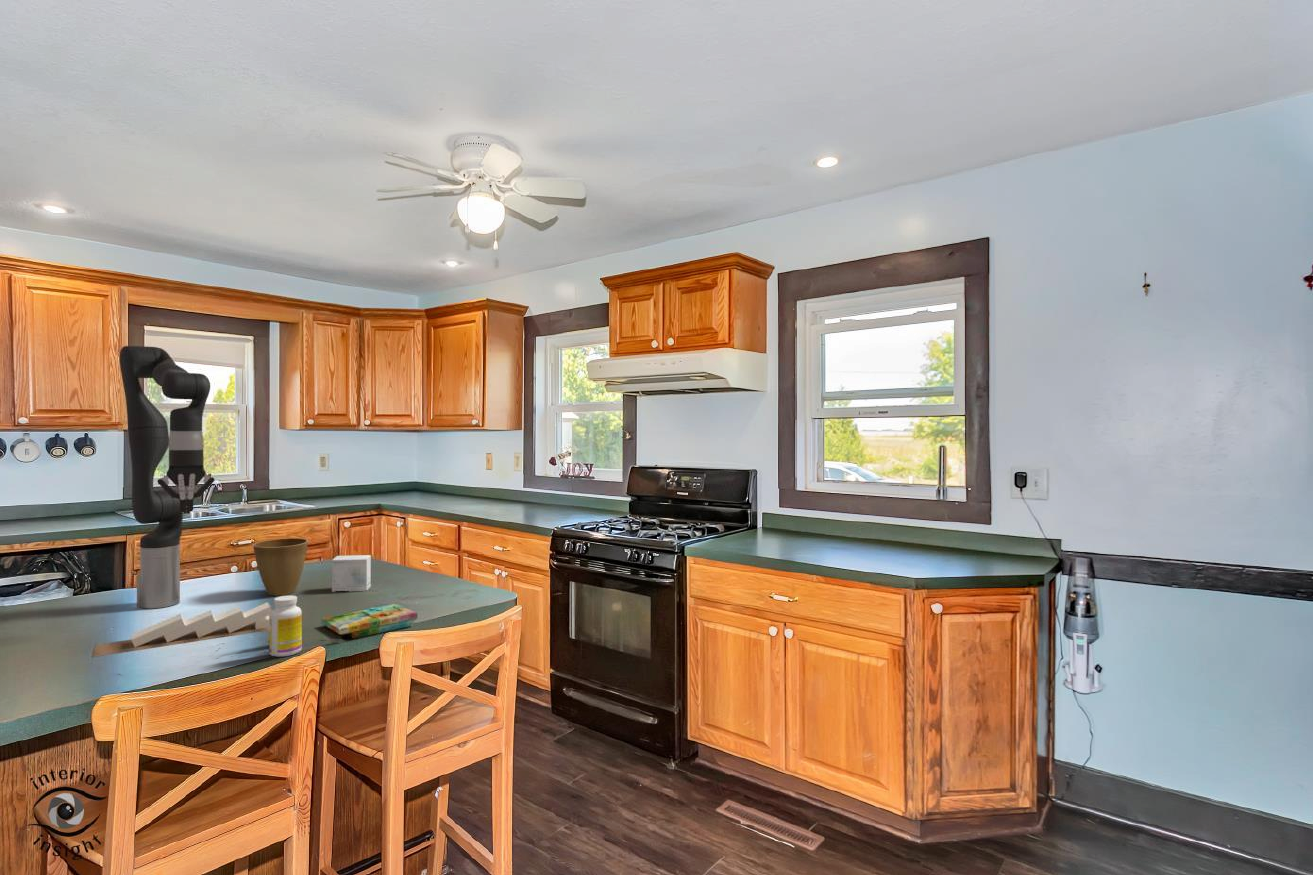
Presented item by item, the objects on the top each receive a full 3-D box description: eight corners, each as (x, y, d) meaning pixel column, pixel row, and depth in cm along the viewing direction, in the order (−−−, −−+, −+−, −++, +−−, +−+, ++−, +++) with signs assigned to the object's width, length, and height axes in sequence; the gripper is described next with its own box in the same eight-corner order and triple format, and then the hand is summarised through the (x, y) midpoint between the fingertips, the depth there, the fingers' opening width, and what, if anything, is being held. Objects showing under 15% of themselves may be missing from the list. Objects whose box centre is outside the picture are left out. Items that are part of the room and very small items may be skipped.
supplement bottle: (308, 650, 157) (308, 595, 157) (284, 659, 151) (284, 602, 150) (286, 646, 159) (286, 593, 159) (262, 655, 153) (262, 600, 153)
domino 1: (131, 639, 152) (181, 618, 158) (131, 634, 156) (181, 613, 162) (134, 647, 153) (185, 625, 158) (135, 641, 157) (184, 620, 162)
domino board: (91, 663, 147) (91, 657, 146) (95, 651, 155) (95, 644, 155) (278, 634, 168) (278, 628, 168) (273, 624, 176) (273, 619, 176)
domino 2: (163, 635, 156) (211, 614, 162) (163, 629, 160) (210, 609, 166) (167, 642, 156) (215, 621, 162) (166, 637, 160) (213, 617, 166)
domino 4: (226, 626, 163) (270, 606, 169) (224, 621, 167) (267, 602, 173) (229, 633, 164) (273, 613, 169) (227, 628, 168) (270, 608, 173)
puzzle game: (417, 609, 176) (338, 625, 162) (417, 627, 176) (338, 644, 162) (397, 601, 184) (321, 615, 170) (397, 618, 184) (321, 633, 170)
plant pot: (267, 587, 214) (267, 538, 214) (315, 587, 216) (315, 537, 216) (243, 599, 200) (243, 546, 199) (295, 599, 201) (295, 546, 201)
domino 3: (195, 630, 160) (241, 610, 165) (194, 625, 164) (239, 606, 169) (198, 637, 160) (244, 617, 166) (197, 632, 164) (242, 613, 170)
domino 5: (255, 621, 167) (300, 614, 173) (253, 616, 171) (297, 610, 177) (255, 629, 167) (300, 622, 173) (253, 624, 171) (297, 617, 177)
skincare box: (331, 592, 210) (331, 559, 209) (336, 587, 216) (336, 555, 216) (366, 591, 212) (366, 558, 211) (371, 586, 218) (371, 554, 218)
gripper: (215, 447, 183) (215, 510, 184) (155, 448, 175) (155, 513, 176) (217, 448, 177) (217, 513, 178) (155, 449, 169) (155, 517, 170)
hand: (186, 513), depth 177 cm, fingers closed
